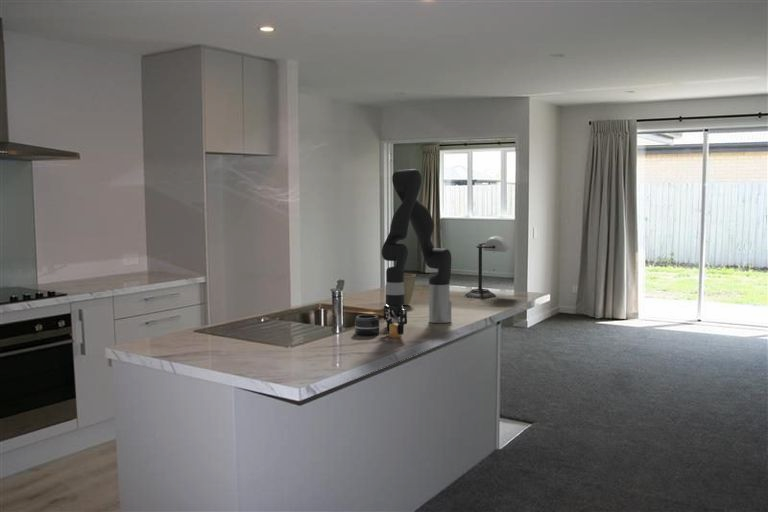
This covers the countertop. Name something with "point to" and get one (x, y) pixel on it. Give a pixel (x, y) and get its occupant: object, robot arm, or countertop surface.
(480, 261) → the lamp
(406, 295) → the plant pot
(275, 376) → the countertop surface
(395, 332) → the wooden block
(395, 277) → the robot arm
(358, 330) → the barrel
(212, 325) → the countertop surface
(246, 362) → the countertop surface
